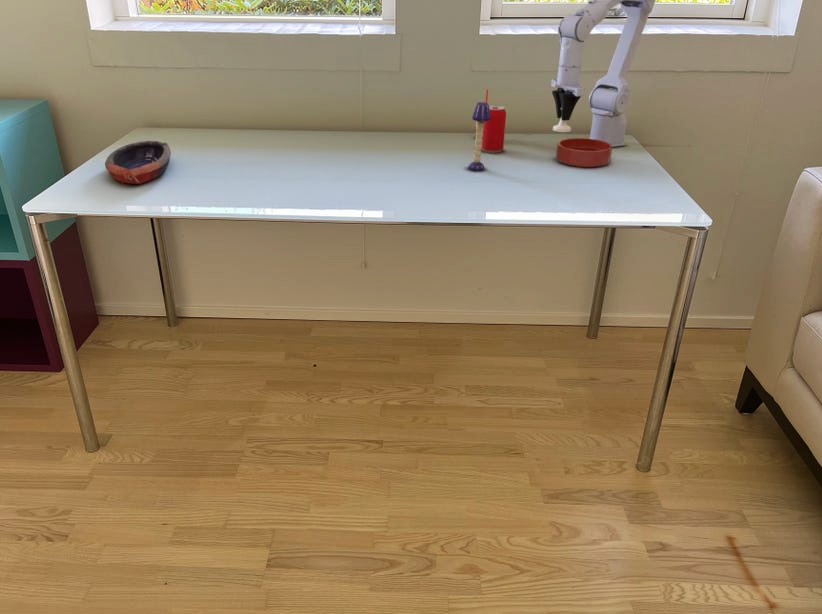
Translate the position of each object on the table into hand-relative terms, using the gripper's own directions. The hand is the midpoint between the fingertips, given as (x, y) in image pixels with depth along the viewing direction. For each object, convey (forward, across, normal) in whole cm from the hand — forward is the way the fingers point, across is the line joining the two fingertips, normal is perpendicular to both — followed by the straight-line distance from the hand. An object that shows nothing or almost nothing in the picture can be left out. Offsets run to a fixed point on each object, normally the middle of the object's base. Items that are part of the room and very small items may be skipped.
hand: (563, 119), depth 197 cm
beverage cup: (+10, -23, -13) cm, 28 cm away
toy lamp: (+10, +6, -27) cm, 29 cm away
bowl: (+10, +7, +4) cm, 13 cm away
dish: (+10, -14, -112) cm, 113 cm away
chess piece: (+3, 0, 0) cm, 3 cm away
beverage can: (+10, -9, -16) cm, 21 cm away
